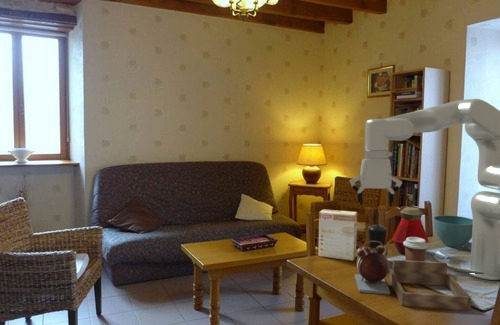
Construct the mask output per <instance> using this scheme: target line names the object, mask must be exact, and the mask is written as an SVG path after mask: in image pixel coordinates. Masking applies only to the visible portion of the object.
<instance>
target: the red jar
mask: <svg viewBox="0 0 500 325" xmlns="http://www.w3.org/2000/svg"><path fill="white" fill-rule="evenodd" d="M399 213H400V215H401V219H400V221H399V224H398V226H397V228H396V230H395V231H394V233H393V236H392V238H391V241H392V242H393V244H394V246H395V249H396V251H397V252H398V253H399V254H400V255H402V256H405V246H404V245H403V242H404V241H405V240H406V238H408V237H418V238H422V239H424V240H425V241H426V243H427V244H428V242H429V239H428V236H427V235H428V234H427V233H426V230H425V228H424V225H423V221H422V219H421V218H422V216H423V214H424V212H423V211H422V210H421V209H420V208H419V207H411V206H410V207H404V208H403V209H402V210H401V211H399Z"/></svg>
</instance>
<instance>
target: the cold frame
mask: <svg viewBox="0 0 500 325" xmlns="http://www.w3.org/2000/svg"><path fill="white" fill-rule="evenodd" d="M389 283H390V285H391V287H392V289H393V291H394V292H395V295H396V297H397V299H398V301H399V303H400V305H401V306H402V307H403V306H404V307H415V308H416V307H417V308H431V309H441V310H442V309H445V310H457V311H458V310H459V311H460V310H461V311H469V312H470V311H471V310H472V309H471V308H472V305H471V304H472V297H471V296H470V295H469V293H467V291H465V289H464V288H463V287H462V286H461V285H460V284H459V283H458V282H457V281H456V280H455V279H454V278H453V277H452V275H451V274H450V273H448V263H447V262H443V261H409V260H406V259H403V260H402V259H392V270H390V269H389ZM402 284H415V285H429V286H430V285H431V286H446V287H447V288H448V289H449V291H450V292H451V293H452V294H453V295H451V294H441V293H440V294H439V293H425V292H424V293H421V292H411V291H410V292H408V291H405V290H404V287H403V286H402Z"/></svg>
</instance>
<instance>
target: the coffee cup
mask: <svg viewBox="0 0 500 325" xmlns="http://www.w3.org/2000/svg"><path fill="white" fill-rule="evenodd" d="M403 245H404V246H405V255H404V257H405V259H404V260H409V261H425V260H426V253H427V252H426V251H427V249H428V248H429V244H428V242H427V243H426V241H425V240H424V239H422V238H418V237H408V238H406V240H405V241H404V242H403Z"/></svg>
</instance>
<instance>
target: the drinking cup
mask: <svg viewBox="0 0 500 325" xmlns="http://www.w3.org/2000/svg"><path fill="white" fill-rule="evenodd" d="M379 216H380V213H379V212H377V213H376V224H372V225H369V226H368V227H367V230H368V239H369V240H368V241H380V242H381V243H382V245H383V246H384V245H385V246H386V238H387V237H386V236H387V231H388V228H387V227H385V226H384V225H381V224H379V222H380V221H379V220H380V217H379ZM381 243H379V242H368V244H369V250H371V248H376V247H377V246H382V245H381Z"/></svg>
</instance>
